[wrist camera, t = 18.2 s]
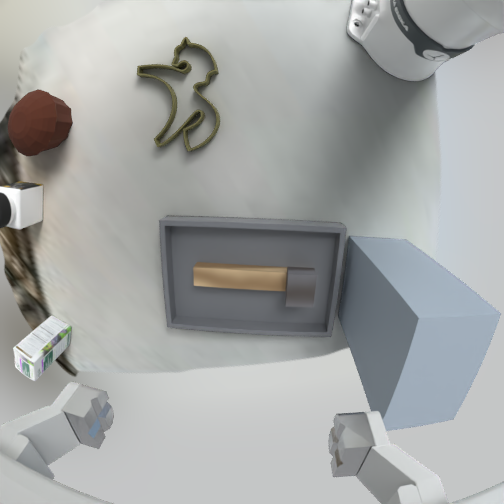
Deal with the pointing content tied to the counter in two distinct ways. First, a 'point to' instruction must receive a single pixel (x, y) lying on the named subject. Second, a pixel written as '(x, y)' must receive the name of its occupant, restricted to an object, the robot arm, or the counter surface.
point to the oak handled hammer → (260, 280)
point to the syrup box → (42, 347)
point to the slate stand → (411, 331)
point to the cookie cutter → (174, 99)
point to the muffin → (39, 123)
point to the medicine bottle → (21, 204)
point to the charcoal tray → (249, 253)
